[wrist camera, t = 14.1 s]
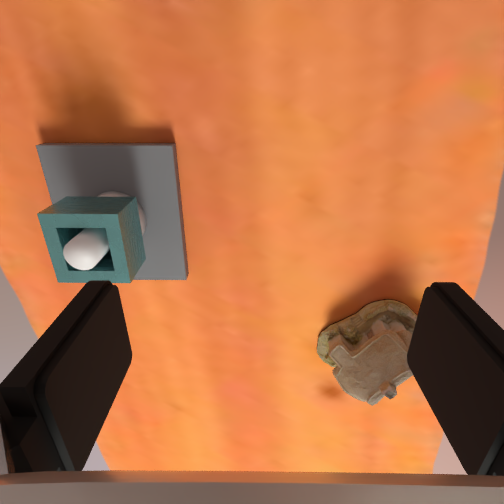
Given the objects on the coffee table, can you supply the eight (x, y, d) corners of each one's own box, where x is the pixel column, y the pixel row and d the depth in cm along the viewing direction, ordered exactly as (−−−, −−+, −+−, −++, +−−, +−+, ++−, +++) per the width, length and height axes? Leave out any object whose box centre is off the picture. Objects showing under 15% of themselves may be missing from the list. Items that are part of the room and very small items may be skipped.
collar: (66, 196, 33) (37, 213, 29) (136, 196, 33) (117, 214, 29) (82, 258, 36) (58, 282, 32) (146, 258, 36) (130, 283, 32)
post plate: (44, 143, 35) (-33, 164, 26) (175, 143, 35) (146, 164, 26) (79, 273, 43) (29, 326, 33) (188, 273, 42) (169, 327, 33)
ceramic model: (358, 381, 51) (379, 444, 42) (303, 346, 48) (313, 406, 39) (432, 323, 46) (475, 381, 37) (376, 280, 43) (407, 332, 34)
